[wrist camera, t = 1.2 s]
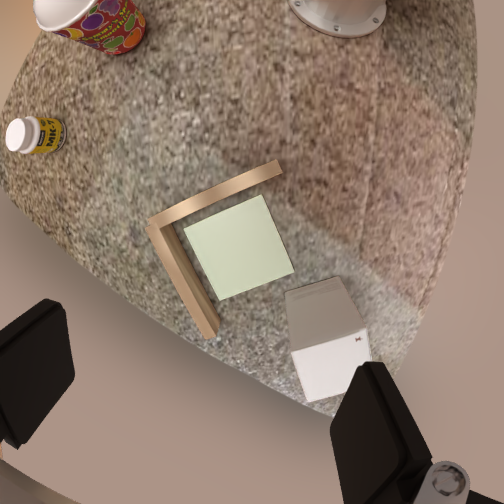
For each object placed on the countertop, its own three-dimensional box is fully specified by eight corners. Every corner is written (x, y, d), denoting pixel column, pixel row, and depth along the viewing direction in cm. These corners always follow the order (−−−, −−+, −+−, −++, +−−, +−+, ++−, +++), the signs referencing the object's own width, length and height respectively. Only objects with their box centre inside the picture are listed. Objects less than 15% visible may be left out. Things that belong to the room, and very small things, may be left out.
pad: (261, 194, 34) (261, 194, 34) (294, 270, 36) (294, 271, 36) (184, 228, 36) (183, 228, 35) (220, 299, 38) (219, 300, 38)
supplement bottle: (67, 149, 33) (27, 150, 25) (43, 155, 33) (3, 158, 25) (67, 115, 32) (27, 110, 24) (43, 122, 32) (3, 120, 24)
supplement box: (282, 290, 37) (288, 350, 25) (339, 274, 36) (370, 326, 24) (297, 338, 39) (306, 404, 27) (350, 323, 38) (377, 384, 26)
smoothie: (128, 72, 30) (21, 20, 11) (87, 51, 29) (-15, 7, 10) (168, 20, 28) (93, -66, 9) (124, 3, 27) (42, -66, 8)
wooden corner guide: (275, 159, 33) (276, 159, 29) (324, 280, 37) (330, 294, 33) (154, 215, 35) (141, 221, 31) (210, 323, 39) (205, 339, 35)
